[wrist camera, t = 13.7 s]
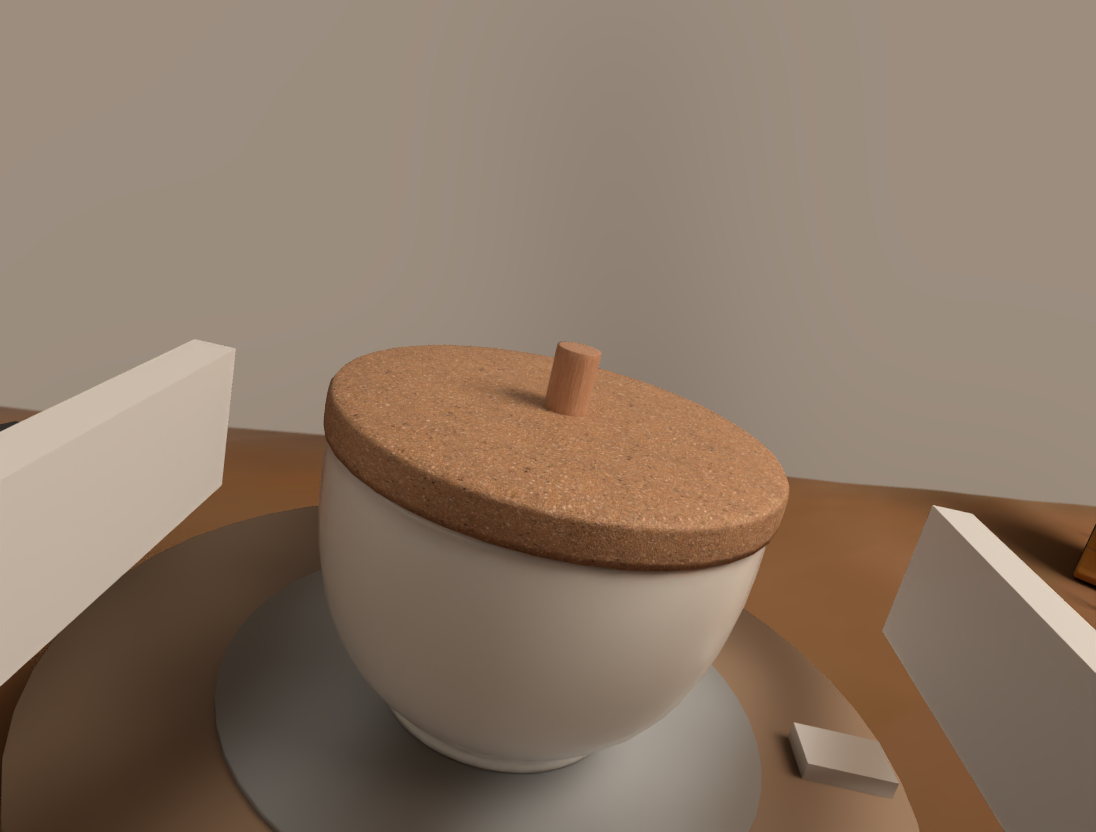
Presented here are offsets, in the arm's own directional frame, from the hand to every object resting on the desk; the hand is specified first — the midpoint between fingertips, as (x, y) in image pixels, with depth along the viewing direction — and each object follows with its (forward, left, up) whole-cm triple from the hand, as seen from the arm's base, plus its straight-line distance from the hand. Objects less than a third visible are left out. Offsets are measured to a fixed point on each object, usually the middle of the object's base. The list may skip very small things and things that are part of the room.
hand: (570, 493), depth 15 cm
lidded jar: (0, +4, -8) cm, 9 cm away
